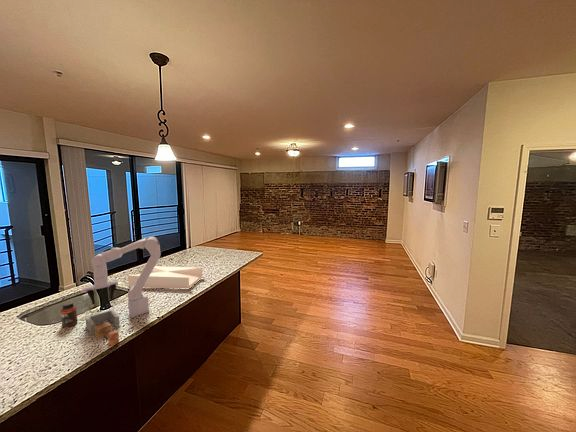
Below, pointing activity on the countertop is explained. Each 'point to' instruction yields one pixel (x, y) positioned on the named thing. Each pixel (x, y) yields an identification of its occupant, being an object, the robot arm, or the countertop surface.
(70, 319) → the supplement bottle
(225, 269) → the countertop surface
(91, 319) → the slate lane
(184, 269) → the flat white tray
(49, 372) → the countertop surface
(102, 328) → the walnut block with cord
